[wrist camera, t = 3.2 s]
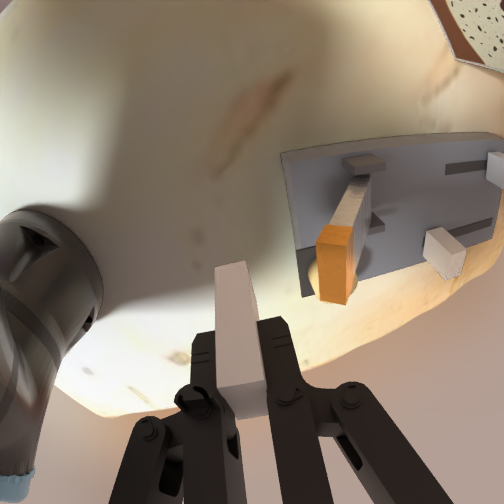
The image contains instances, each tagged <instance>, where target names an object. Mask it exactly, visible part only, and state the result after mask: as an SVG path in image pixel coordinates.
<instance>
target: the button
mask: <svg viewBox="0 0 504 504" xmlns="http://www.w3.org/2000/svg"><path fill="white" fill-rule="evenodd" d="M308 278H309V280H310V283H311V285H312V287H313V290H314V292H315V295H316V297H317V298H318V299H319V300H320V294H319V279H318V266H317V258H315V259H314V260H313V261H312V263H311V264H310V266H309V269H308ZM357 283H358V277H357V274H356V273H355V274H354V277H353V286H352V289H351V292H350V295H351V294H352V293H353V292H354V290H355V288H356V286H357ZM350 295H349V296H350ZM321 302H324V303H331V302H325V301H321Z"/></svg>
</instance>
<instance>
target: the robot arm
mask: <svg viewBox="0 0 504 504" xmlns="http://www.w3.org/2000/svg"><path fill="white" fill-rule="evenodd" d="M102 299H103V286H102V280H101V276H100V273H99V270H98V268H97V266H96V264H95V262H94V260H93V258H92V256H91V255H90V253H89V251H88V250H87V249H86V247H85V246H84V245H83V243H82V242H81V241H80V240H79V239H78V238H77V237H76V236H75V235H74V234H73V233H72V232H71V231H70V230H69V229H68V228H67V227H65V226H64V225H63V224H61V223H60V222H58V221H57V220H55V219H53V218H52V217H50V216H47V215H45V214H43V213H40V212H36V211H30V210H21V211H16V212H13V213H10V214H8V215H7V216H5V217H4V218H3V219H2V220H1V221H0V501H2V502H8V503H18V502H21V501H23V500H24V499H25V498H26V497H27V495H28V491H29V486H30V481H31V478H33V477H34V474H35V468H34V467H35V466H34V461H35V455H36V450H37V445H38V441H39V436H40V432H41V427H42V423H43V419H44V416H45V412H46V408H47V405H48V401H49V398H50V394H51V391H52V388H53V385H54V382H55V378H56V375H57V372H58V369H59V366H60V364H61V361H62V359H63V358H64V356H65V355H66V354H67V353H68V352H69V351H70V350H71V349H72V348H73V346H74V345H75V344H76V343H77V342H78V341H79V340H80V339H81V338H82V337H83V336H84V335H85V333H86V332H87V331H88V330H89V329H90V328H91V327H92V325H93V323H94V322H95V320H96V317H97V314H98V312H99V309H100V307H101V304H102ZM191 355H192V356H191V375H190V384H188V385H185V386H184V387H182V388H181V389H180V390H179V391H178V392H177V394H176V395H175V399H174V403H175V404H176V405H177V406H178V407H179V408H180V409H181V411H180V412H178V413H176V414H174V415H171V416H168V417H166V418H163V419H161V420H160V419H159V418H157V417H155V416H146V417H144V418H141V419H140V420H139V421H138V422H137V423H136V424H135V426H134V428H133V430H132V434H131V436H130V439H129V442H128V445H127V448H126V451H125V454H124V457H123V459H122V462H121V466H120V469H119V472H118V475H117V478H116V481H115V484H114V487H113V490H112V494H111V497H110V500H109V504H182V501H183V497H184V504H247V498H246V490H245V482H244V474H243V464H242V455H241V446H240V436H239V431H238V429H237V427H236V424H235V417H236V418H237V420H241V419H248V418H254V417H259V416H265V415H269V420H270V427H271V433H272V439H273V446H274V452H275V458H276V464H277V470H278V476H279V483H280V489H281V495H282V501H283V504H334V502H333V498H332V494H331V489H330V485H329V482H328V477H327V472H326V468H325V464H324V461H323V456H322V452H321V447H320V443H319V440H318V436H322V437H333V438H334V440H335V441H336V443H337V445H338V446H339V448H340V450H341V451H342V453H343V455H344V456H345V458H346V459H347V461H348V463H349V464H350V466H351V467H352V469H353V470H354V472H355V474H356V475H357V477H358V479H359V480H360V482H361V483H362V485H363V486H364V488H365V490H366V491H367V493H368V494H369V496H370V498H371V499H372V501H373V502H374V504H453V502H452V501H451V499H450V498H449V497H448V495H447V494H446V492H445V491H444V490H443V488H442V487H441V485H440V484H439V483H438V482H437V480H436V479H435V477H434V476H433V475H432V473H431V472H430V470H429V469H428V468H427V466H426V465H425V464H424V462H423V461H422V460H421V458H420V457H419V455H418V454H417V453H416V451H415V450H414V449H413V447H412V446H411V444H410V443H409V442H408V440H407V439H406V438H405V436H404V435H403V434H402V432H401V431H400V430H399V428H398V427H397V426H396V424H395V423H394V422H393V420H392V419H391V418H390V416H389V415H388V414H387V412H386V411H385V410H384V408H383V407H382V406H381V404H380V403H379V402H378V400H377V399H376V398H375V396H374V395H373V394H372V392H371V391H370V390H369V389H368V388H367V387H366V386H365V385H364V384H362V383H359V382H346V383H344V384H341V385H340V386H339V387H337V388H336V389H322V388H315V387H313V386H311V385H309V384H308V383H306V382H305V380H304V379H303V378H302V375H301V372H300V368H299V364H298V361H297V357H296V353H295V349H294V345H293V342H292V338H291V334H290V330H289V327H288V324H287V323H286V322H285V320H284V319H283V318H282V317H281V316H278V317H274V318H269V319H265V320H260V319H259V314H258V308H257V302H256V298H255V294H254V291H253V287H252V283H251V279H250V276H249V272H248V268H247V264H246V260H244V261H240V262H235V263H231V264H226V265H222V266H218V267H215V330H214V331H209V332H204V333H198V334H197V335H196V337H195V339H194V341H193V343H192V351H191Z"/></svg>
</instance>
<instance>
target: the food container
mask: <svg viewBox="0 0 504 504" xmlns="http://www.w3.org/2000/svg"><path fill="white" fill-rule="evenodd" d="M427 1H428V2H429V4H430V6H431V8H432V10H433V12H434V14H435V16H436V18H437V20H438V22H439V24H440V26H441V28H442V31H443V33H444V35H445V37H446V40H447V42H448V44H449V47H450V49H451V52H452V54H453V57H454V60H457V61H461V62H466V63H470V64H474V65H478V66H482V67H485V68H489V69H492V70H496V71H499V72H502V73H504V0H427Z"/></svg>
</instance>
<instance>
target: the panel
mask: <svg viewBox="0 0 504 504" xmlns="http://www.w3.org/2000/svg"><path fill="white" fill-rule="evenodd" d="M498 151H499V152H501V153H503V154H504V139H503V138H501V137H499V136H496V135H494V134H491V133H489V132H461V133H436V134H419V135H406V136H395V137H385V138H376V139H367V140H359V141H351V142H344V143H337V144H330V145H324V146H318V147H312V148H306V149H300V150H295V151H289V152H284V153H280V154H281V160H282V165H283V171H284V177H285V183H286V189H287V195H288V201H289V208H290V214H291V221H292V227H293V234H294V241H295V248H296V258H297V265H298V272H299V280H300V288H301V296H302V298H303V297H307V296H311V295H315V292H314V290H313V287H312V285H311V283H310V280H309V278H308V269H309V266H310V264H311V263H312V261H313V260H314V259H315V258H317V255H316V244H315V242H316V240H317V238H318V237H319V235H320V233H321V231H322V230H323V228H324V226H325V224H327V225H328V224H329V222H330V221H331V219H332V217H333V215H334V213H335V211H336V209H337V207H338V205H339V203H340V202H341V200H342V198H343V196H344V194H345V192H346V190H347V188H348V186H349V184H350V182H351V180H352V178H353V176H354V175H355V176H356V175H362V174H368V173H370V176H371V223H370V226H369V230H368V233H367V236H366V240H365V243H364V246H363V249H362V252H361V256H360V259H359V262H358V265H357V268H356V271H355V273H356V274H357V277H358V281H362V280H365V279H369V278H372V277H376V276H379V275H383V274H386V273H389V272H393V271H396V270H399V269H403V268H406V267H409V266H412V265H416V264H419V263H422V262H425V261H427V260H426V259H425V258H424V257H423V251H424V244H425V237H426V231H428V230H432V229H436V228H439V227H443V228H444V229H445V230H446V231H447V232H448V233H449V234H451V235H452V236H453V237H454V238H455V239H456V240H457V241H458V242H459V243H461V244H462V245H463V246H464V247H465V248H467V247H470V246H473V245H475V244H478V243H481V242H484V241H486V240H489V239H492V236H493V232H494V228H495V223H496V219H497V214H498V209H499V204H500V198H501V192H502V188H500V187H498V186H497V185H495V184H493V183H492V182H490V181H488V180H487V179H486V172H487V161H488V152H498Z"/></svg>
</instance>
